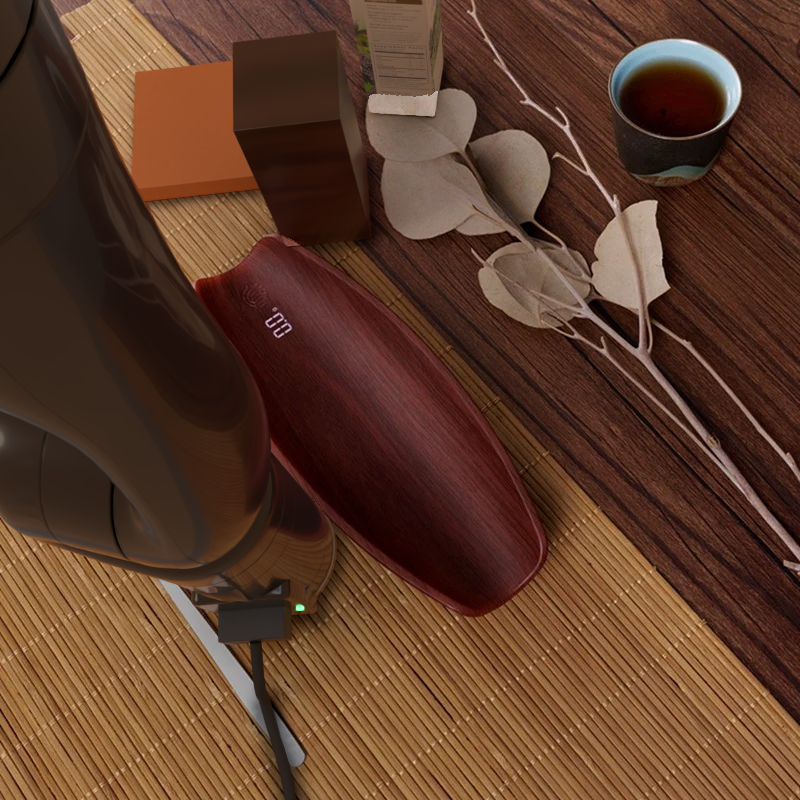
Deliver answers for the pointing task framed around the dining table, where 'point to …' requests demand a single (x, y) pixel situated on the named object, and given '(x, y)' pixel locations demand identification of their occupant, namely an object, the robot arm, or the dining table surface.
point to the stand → (187, 133)
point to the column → (302, 136)
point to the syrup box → (399, 45)
